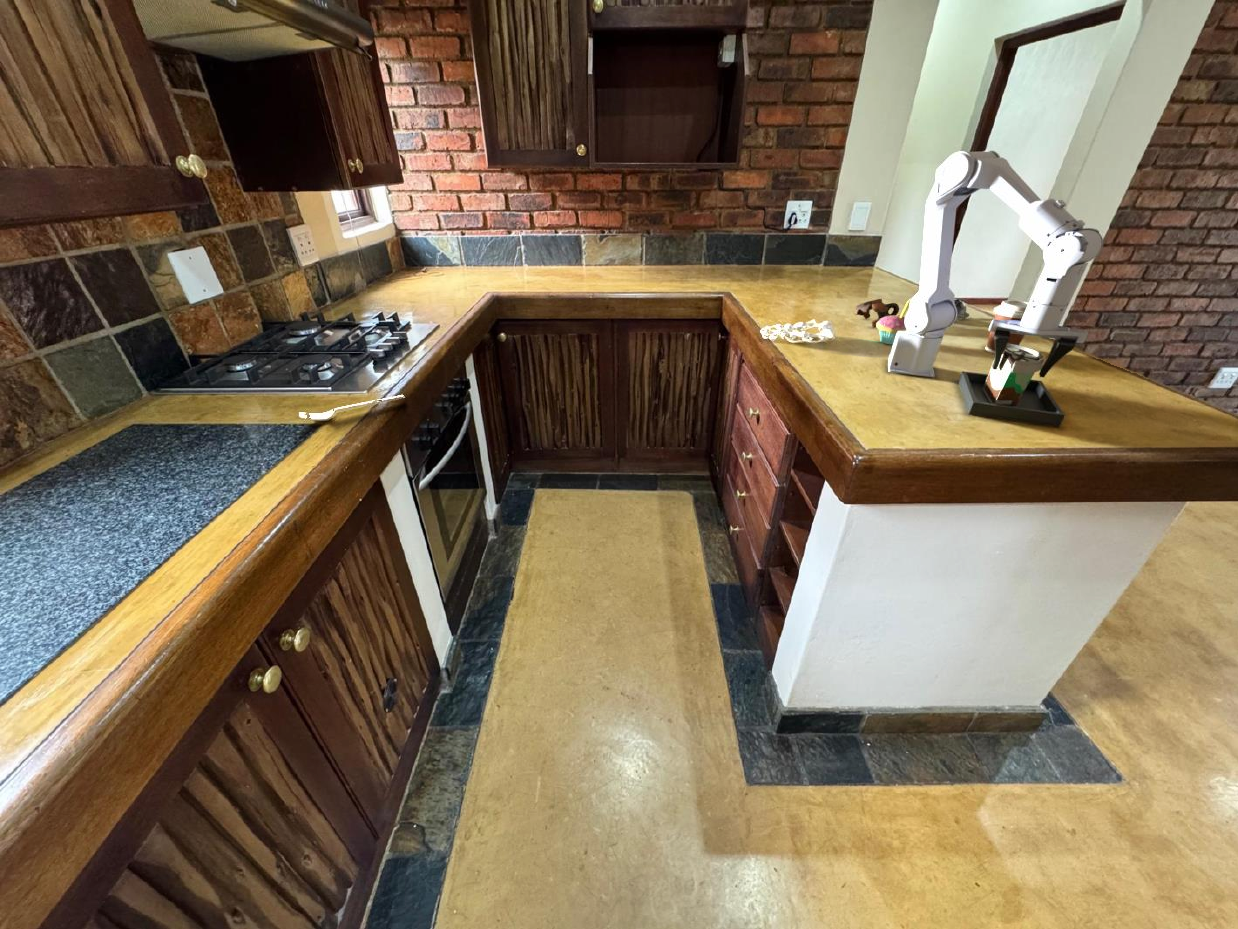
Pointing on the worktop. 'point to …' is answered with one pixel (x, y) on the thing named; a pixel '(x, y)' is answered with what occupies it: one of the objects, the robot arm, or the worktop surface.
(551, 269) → the worktop surface
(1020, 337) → the coffee cup
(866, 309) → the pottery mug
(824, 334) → the tangled rod sculpture
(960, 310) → the snack package
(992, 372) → the food container
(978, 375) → the tray
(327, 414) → the fork
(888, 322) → the cupcake
